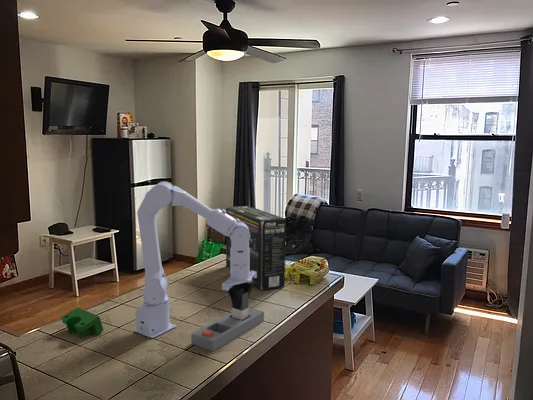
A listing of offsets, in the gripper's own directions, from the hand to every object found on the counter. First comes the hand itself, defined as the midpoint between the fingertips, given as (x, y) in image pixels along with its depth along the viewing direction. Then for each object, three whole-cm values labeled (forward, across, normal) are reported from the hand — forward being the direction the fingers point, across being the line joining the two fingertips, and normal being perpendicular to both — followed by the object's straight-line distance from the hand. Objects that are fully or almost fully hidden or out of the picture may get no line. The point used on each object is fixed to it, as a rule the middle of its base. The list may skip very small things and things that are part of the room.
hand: (240, 306), depth 134 cm
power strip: (+6, -5, 0) cm, 8 cm away
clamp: (+6, -30, +35) cm, 47 cm away
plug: (+3, 0, 0) cm, 3 cm away
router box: (+6, +41, +25) cm, 48 cm away
